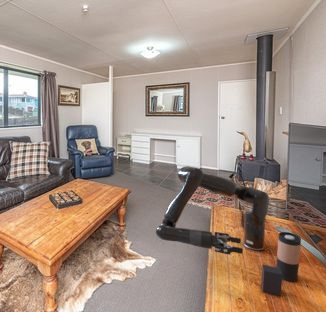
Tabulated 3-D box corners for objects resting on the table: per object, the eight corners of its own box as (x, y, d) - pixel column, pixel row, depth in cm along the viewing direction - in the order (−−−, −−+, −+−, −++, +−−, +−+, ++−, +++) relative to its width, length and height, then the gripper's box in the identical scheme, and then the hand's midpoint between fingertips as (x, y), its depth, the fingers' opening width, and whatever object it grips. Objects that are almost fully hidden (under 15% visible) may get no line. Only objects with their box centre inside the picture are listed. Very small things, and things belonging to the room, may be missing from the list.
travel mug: (277, 268, 110) (279, 230, 107) (298, 275, 105) (302, 235, 101) (274, 277, 105) (277, 236, 101) (296, 284, 99) (300, 242, 96)
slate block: (261, 284, 101) (262, 264, 99) (278, 288, 98) (279, 267, 96) (262, 291, 97) (264, 270, 95) (280, 296, 94) (282, 274, 92)
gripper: (199, 238, 100) (243, 246, 93) (201, 224, 113) (240, 230, 105) (199, 254, 102) (242, 263, 94) (200, 238, 114) (239, 245, 106)
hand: (241, 245), depth 100 cm, fingers open, 8 cm apart
